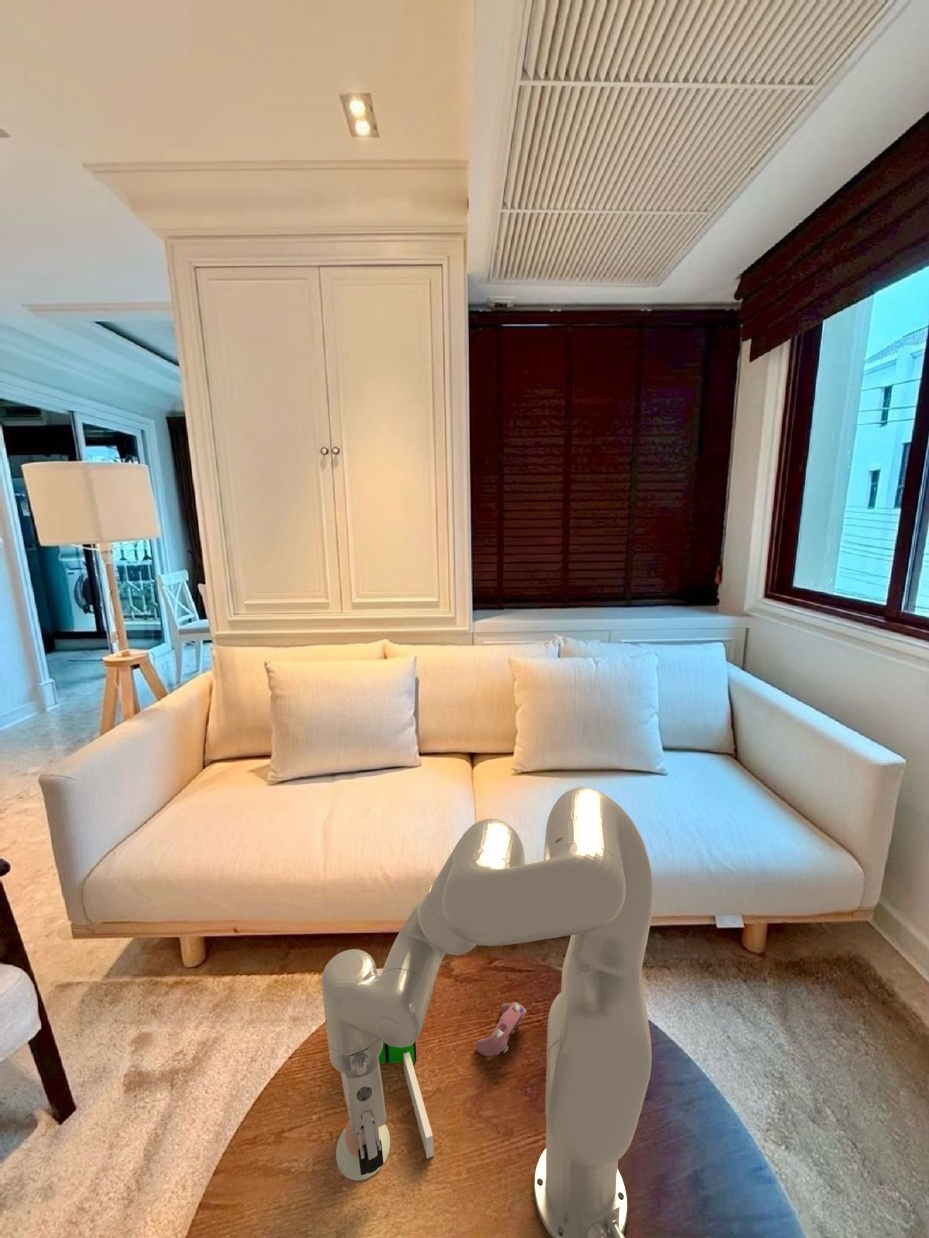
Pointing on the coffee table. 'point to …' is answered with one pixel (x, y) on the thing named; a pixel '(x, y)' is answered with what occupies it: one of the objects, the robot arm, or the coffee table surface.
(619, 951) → the robot arm
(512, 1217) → the coffee table surface
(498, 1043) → the video game controller
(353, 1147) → the ball
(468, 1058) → the coffee table surface
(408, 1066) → the beige rectangular block
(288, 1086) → the coffee table surface
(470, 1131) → the coffee table surface
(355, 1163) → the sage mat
